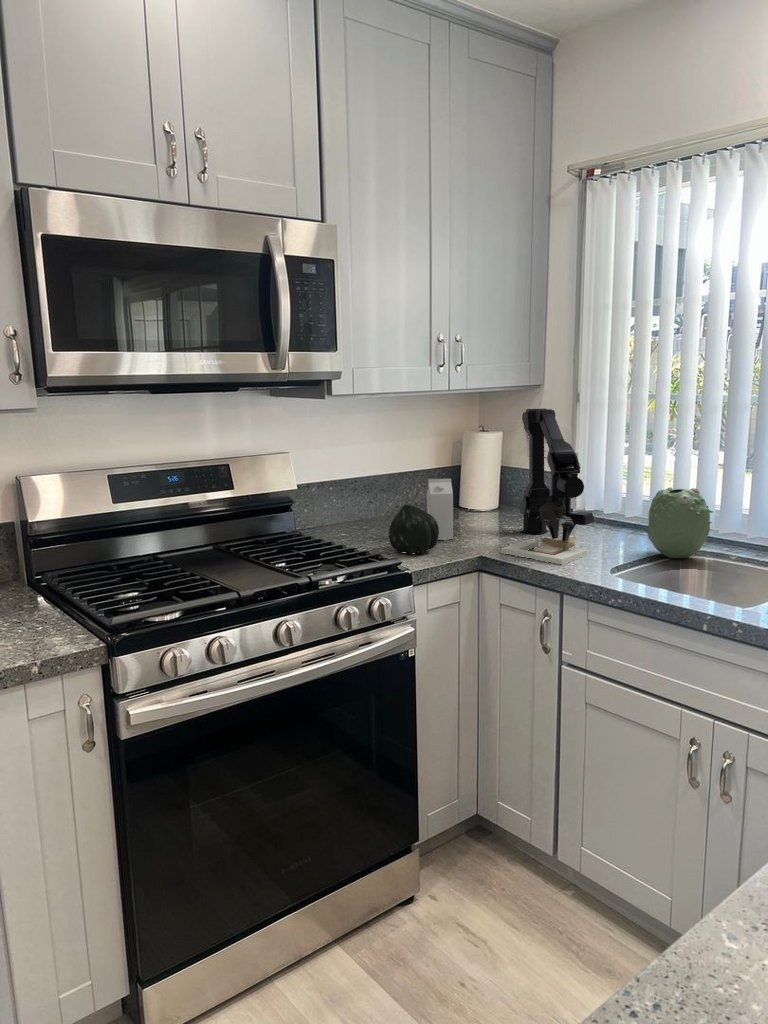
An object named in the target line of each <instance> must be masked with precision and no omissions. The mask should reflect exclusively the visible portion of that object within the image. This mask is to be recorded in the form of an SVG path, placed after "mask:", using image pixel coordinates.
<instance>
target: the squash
mask: <svg viewBox="0 0 768 1024" xmlns="http://www.w3.org/2000/svg"><path fill="white" fill-rule="evenodd" d="M438 536H439V527H438V524H437V522H436V520H435V519H434V517H433V516H431V515H430V514H428V513H427V511H425V510H423V509H421V508H419V507H416V506H414V505H411V504H403V506H401V507H400V509H399V511H398V512H397V514H395V516H394V517H393V519H392V521H391V522H390V526H389V530H388V541H389V544H390V546H391V547H392V548H393V549H394V550H395V549H396V550H395V551H397V552H399V553H400V552H408V553H407V554H409V553H412V554H413V553H416V554H420V553H424V554H426V553H428V551H430V550H433V549H434V548H435V547H436V546H437V543H438V541H437V540H438ZM418 552H419V553H418ZM412 554H411V555H412Z"/></svg>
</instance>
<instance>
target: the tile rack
mask: <svg viewBox="0 0 768 1024" xmlns="http://www.w3.org/2000/svg"><path fill="white" fill-rule="evenodd" d="M535 547H539V541H536V540H529V539H526V540H523V541H519V542H516V543H514V544H510V545H507V546H504V547H501V548H500V554H501V553H508V554H514V555H520V556H524V557H528V558H532V559H537V560H542V561H541V562H543V561H547V562H546V563H548V562H551V563H550V564H553V563H556V564H555V565H559V564H561V565H560V566H564V565H565V564H568V562H569V563H570V562H574V561H576V559H577V560H580V559H582V558H584V557H587V556H588V555H587V554H588V550H587V549H581V548H576V547H574V548H571V549H570V548H569V550H568V551H565V552H562V553H559V554H556V555H549V554H544V553H538V552H533V551H532V550H533V549H532V548H535ZM528 549H532V550H529V551H527V550H528ZM581 557H582V558H581ZM532 559H531V560H532ZM537 560H536V561H537ZM573 560H574V561H573Z"/></svg>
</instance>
